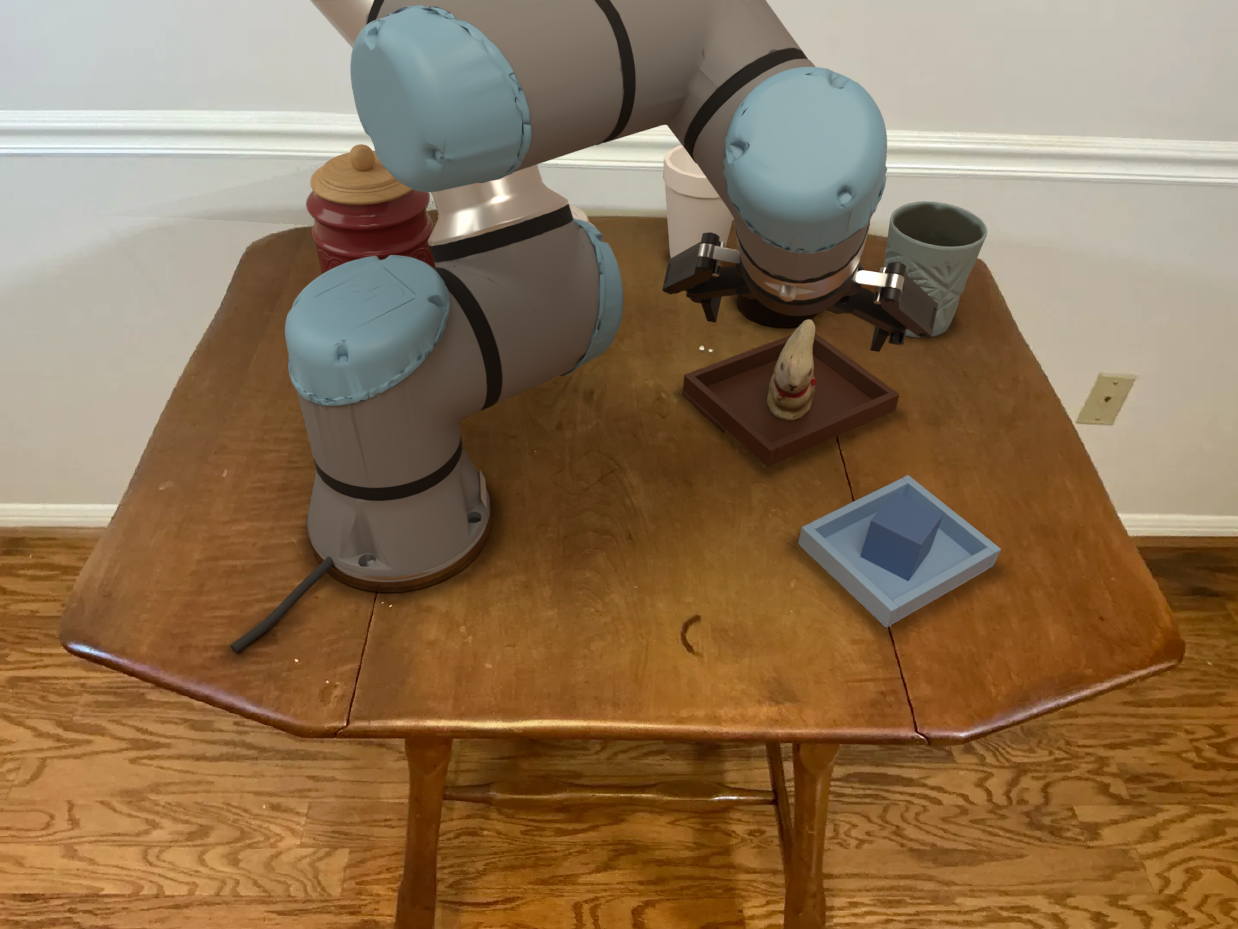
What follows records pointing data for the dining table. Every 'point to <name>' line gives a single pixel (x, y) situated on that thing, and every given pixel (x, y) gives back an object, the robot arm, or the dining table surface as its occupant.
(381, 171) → the kitchen canister
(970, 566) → the blue tray
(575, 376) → the dining table surface
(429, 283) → the robot arm
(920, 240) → the drinking glass
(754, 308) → the mug
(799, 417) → the chocolate bunny
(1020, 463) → the dining table surface
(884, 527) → the slate-blue block
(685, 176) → the foam cup
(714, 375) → the brown tray
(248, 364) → the dining table surface
